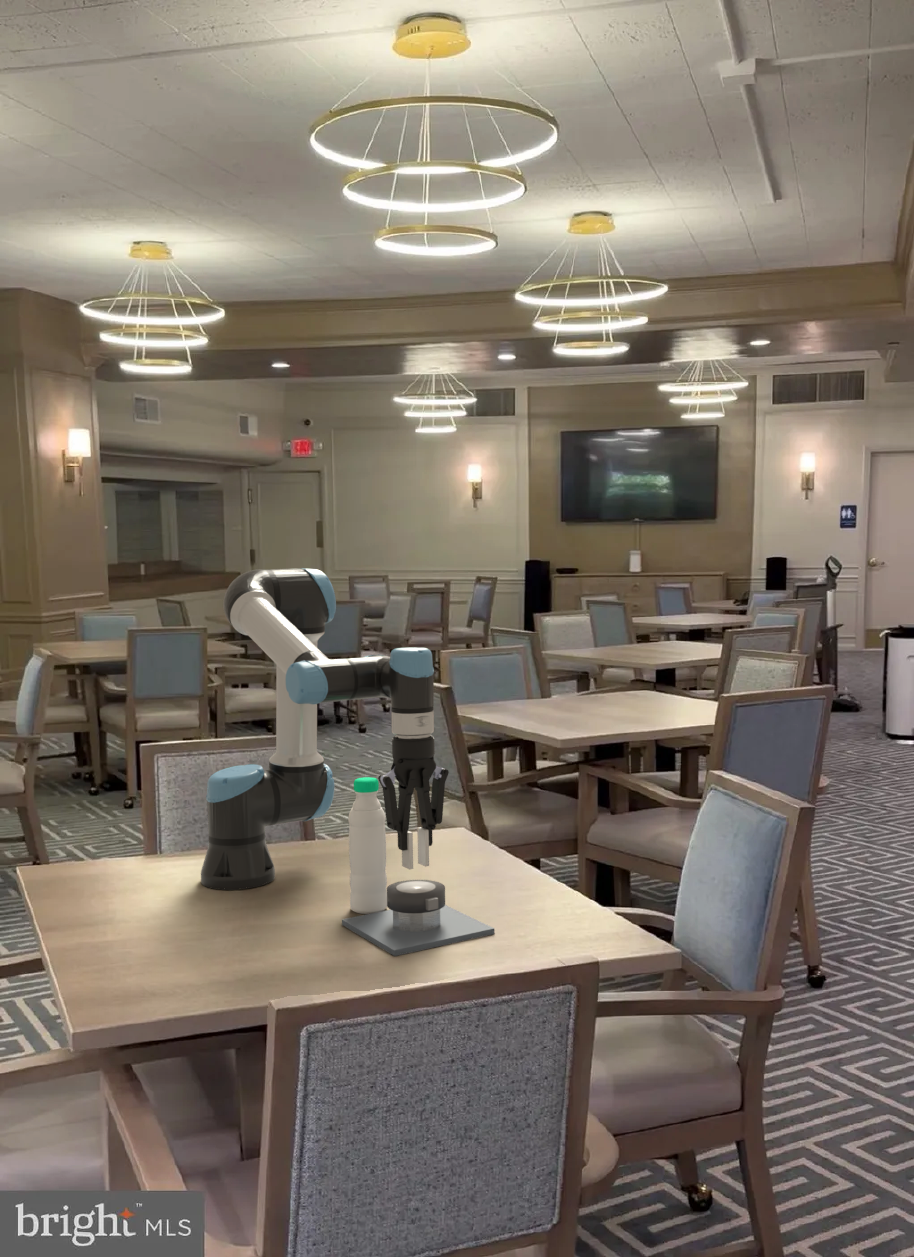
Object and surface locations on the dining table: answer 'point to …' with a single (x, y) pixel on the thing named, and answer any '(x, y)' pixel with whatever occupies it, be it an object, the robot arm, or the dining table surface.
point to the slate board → (403, 942)
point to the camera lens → (416, 896)
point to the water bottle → (367, 849)
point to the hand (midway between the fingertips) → (415, 865)
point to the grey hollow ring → (416, 921)
